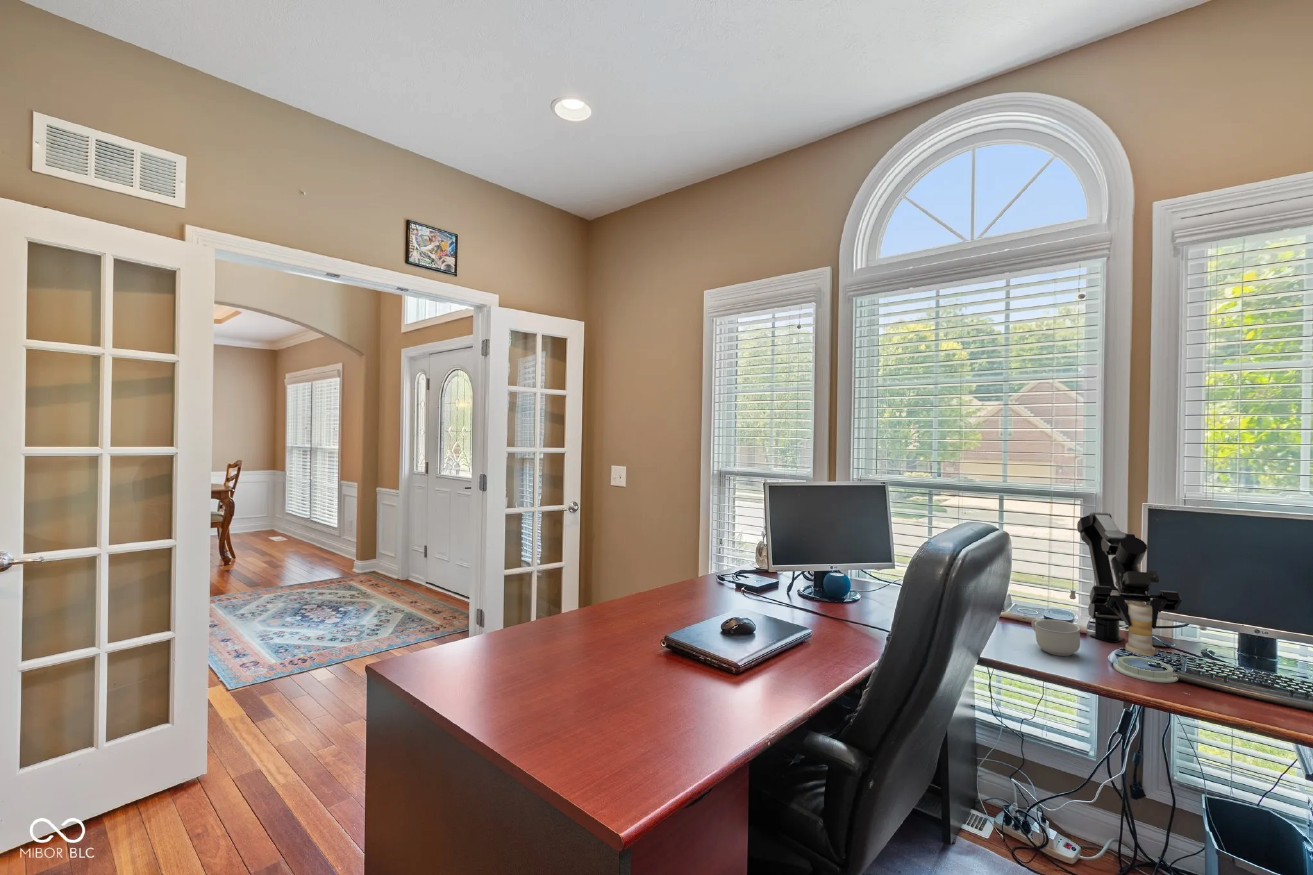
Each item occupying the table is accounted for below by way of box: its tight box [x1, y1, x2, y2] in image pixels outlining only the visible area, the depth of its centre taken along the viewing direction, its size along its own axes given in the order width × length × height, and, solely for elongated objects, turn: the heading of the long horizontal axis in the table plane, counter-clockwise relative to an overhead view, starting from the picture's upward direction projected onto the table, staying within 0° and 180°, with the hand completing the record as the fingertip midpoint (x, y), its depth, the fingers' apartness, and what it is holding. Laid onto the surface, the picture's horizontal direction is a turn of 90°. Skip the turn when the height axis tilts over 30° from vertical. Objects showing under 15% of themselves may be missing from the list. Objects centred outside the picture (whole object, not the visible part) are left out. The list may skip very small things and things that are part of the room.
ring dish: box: [1113, 655, 1179, 684], centre depth 153 cm, size 13×13×2 cm
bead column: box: [1125, 601, 1156, 657], centre depth 153 cm, size 6×6×13 cm
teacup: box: [1031, 617, 1081, 657], centre depth 170 cm, size 14×11×8 cm
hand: (1142, 626), depth 152 cm, fingers closed on bead column, 5 cm apart
